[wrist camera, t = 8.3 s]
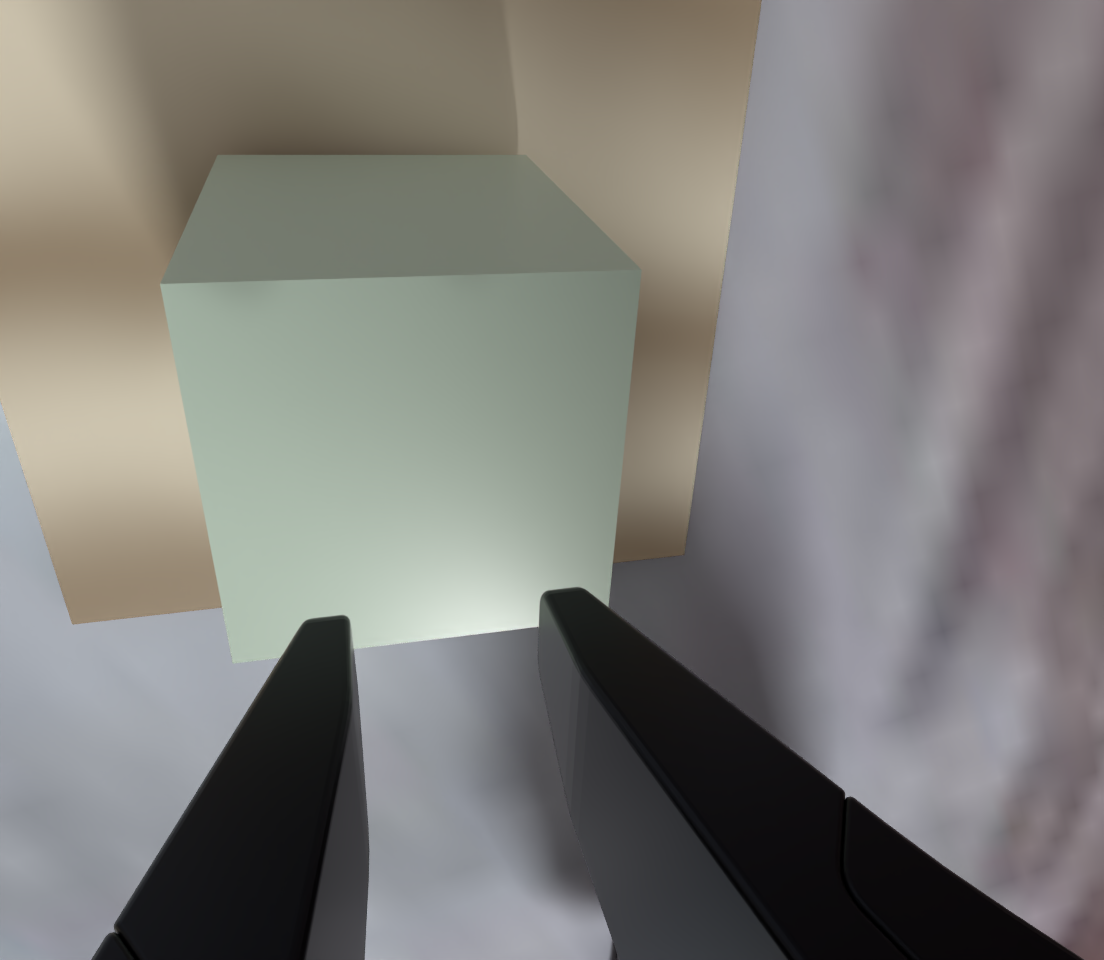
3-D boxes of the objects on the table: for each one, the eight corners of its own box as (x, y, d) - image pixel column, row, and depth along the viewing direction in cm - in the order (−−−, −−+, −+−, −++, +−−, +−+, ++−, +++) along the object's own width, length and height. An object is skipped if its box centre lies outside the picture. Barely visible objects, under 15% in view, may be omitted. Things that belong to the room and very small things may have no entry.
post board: (675, 541, 22) (683, 555, 22) (78, 606, 19) (72, 624, 19) (763, -125, 15) (779, -127, 15) (-169, -183, 12) (-190, -189, 12)
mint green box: (518, 416, 18) (606, 618, 13) (257, 433, 17) (232, 663, 12) (526, 154, 16) (641, 269, 10) (217, 154, 14) (160, 284, 9)
